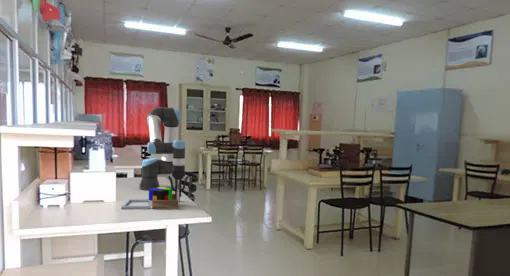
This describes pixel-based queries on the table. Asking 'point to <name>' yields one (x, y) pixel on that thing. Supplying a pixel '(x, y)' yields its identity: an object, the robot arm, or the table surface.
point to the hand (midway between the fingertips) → (177, 201)
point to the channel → (166, 203)
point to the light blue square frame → (135, 206)
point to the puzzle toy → (159, 194)
